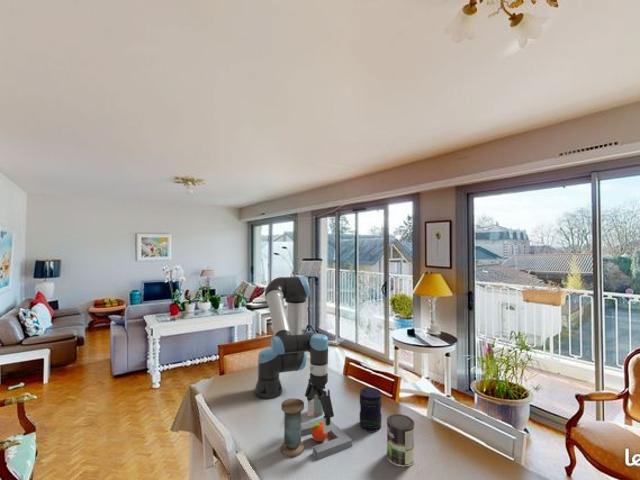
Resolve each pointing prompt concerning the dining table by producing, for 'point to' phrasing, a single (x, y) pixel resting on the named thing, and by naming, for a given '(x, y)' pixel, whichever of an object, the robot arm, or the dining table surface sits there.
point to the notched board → (330, 447)
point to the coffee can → (400, 440)
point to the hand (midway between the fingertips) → (318, 423)
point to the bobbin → (292, 427)
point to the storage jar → (370, 409)
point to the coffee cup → (317, 406)
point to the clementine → (318, 432)
